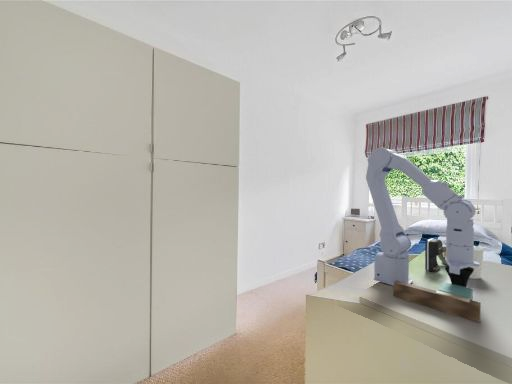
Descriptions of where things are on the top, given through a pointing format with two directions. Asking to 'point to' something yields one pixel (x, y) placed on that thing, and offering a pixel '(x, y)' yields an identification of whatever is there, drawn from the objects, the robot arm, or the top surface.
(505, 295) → the top surface
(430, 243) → the battery charger
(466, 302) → the walnut board
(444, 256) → the pocket watch
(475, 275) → the white cup
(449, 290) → the teal block
